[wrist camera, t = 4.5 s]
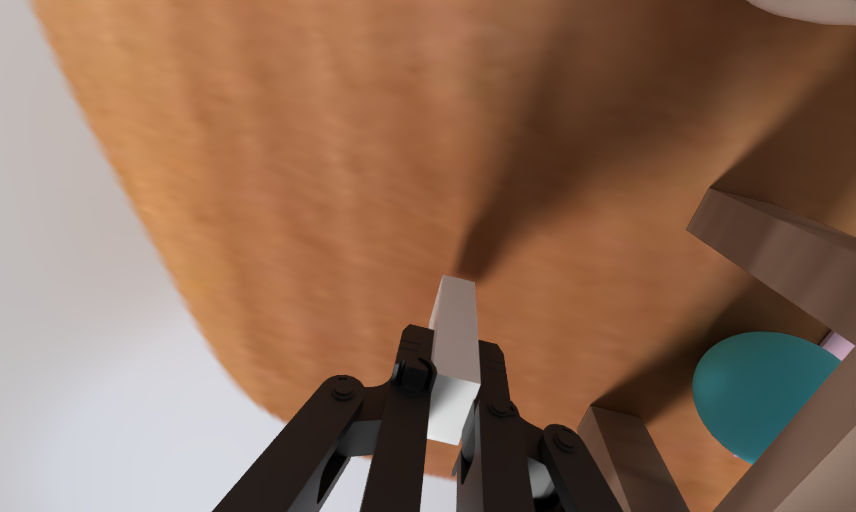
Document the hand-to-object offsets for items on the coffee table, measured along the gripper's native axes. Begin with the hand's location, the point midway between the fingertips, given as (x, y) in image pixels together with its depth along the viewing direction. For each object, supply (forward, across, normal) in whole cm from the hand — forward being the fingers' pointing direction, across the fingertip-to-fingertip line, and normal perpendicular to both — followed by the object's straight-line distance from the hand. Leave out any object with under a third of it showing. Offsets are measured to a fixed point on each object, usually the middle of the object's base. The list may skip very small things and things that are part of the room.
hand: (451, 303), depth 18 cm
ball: (-1, +15, 0) cm, 15 cm away
